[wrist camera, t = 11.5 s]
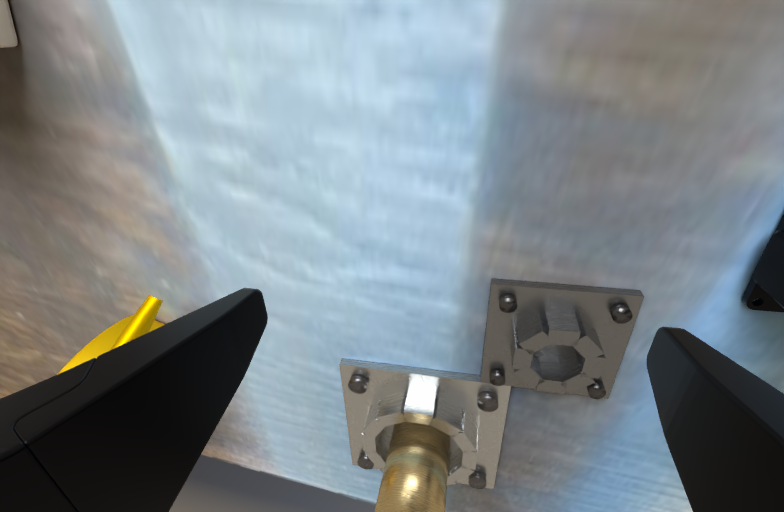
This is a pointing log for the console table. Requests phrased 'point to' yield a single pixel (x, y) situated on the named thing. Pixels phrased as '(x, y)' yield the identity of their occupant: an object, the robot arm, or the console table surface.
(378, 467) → the flange large
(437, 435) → the gold metal cylinder
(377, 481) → the console table surface
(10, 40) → the medicine bottle
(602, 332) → the flange small
